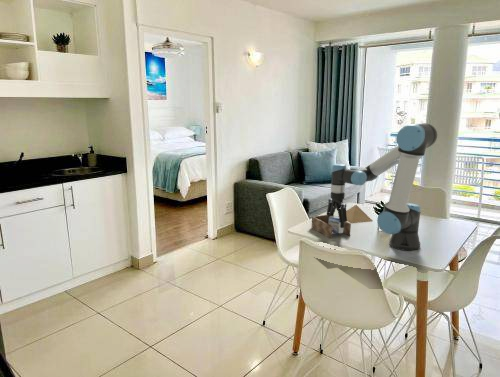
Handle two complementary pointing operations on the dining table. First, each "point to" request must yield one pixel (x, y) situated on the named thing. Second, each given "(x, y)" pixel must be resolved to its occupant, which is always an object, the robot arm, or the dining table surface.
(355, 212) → the model pyramid
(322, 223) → the open wooden shelf
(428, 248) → the dining table surface
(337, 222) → the medicine box
